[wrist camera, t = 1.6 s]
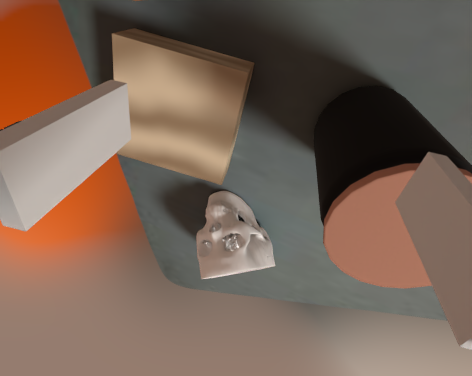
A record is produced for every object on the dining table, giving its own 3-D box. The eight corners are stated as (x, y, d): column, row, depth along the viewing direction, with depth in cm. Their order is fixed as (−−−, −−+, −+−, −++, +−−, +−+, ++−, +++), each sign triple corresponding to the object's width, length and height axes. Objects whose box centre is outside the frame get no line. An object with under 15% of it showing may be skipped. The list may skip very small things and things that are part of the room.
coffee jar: (354, 182, 37) (388, 306, 22) (294, 132, 34) (290, 234, 20) (433, 125, 31) (548, 242, 17) (368, 60, 29) (437, 131, 14)
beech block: (135, 27, 31) (111, 33, 27) (255, 62, 31) (248, 72, 27) (135, 137, 40) (117, 153, 36) (229, 165, 39) (221, 184, 35)
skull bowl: (241, 176, 38) (251, 268, 33) (276, 206, 49) (287, 278, 44) (179, 195, 42) (178, 280, 37) (224, 219, 53) (229, 287, 48)
